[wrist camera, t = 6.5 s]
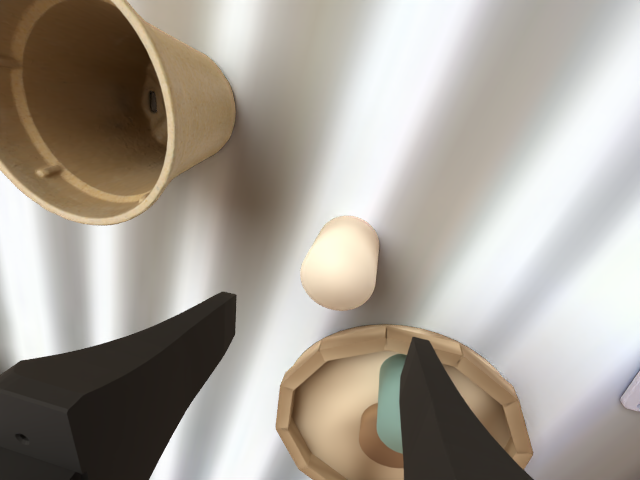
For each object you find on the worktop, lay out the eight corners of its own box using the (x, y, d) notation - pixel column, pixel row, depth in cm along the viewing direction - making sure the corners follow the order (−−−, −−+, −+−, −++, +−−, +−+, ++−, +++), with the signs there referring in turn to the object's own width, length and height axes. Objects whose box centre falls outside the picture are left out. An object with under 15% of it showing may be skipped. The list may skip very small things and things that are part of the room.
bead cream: (385, 222, 21) (383, 252, 16) (372, 278, 22) (367, 317, 18) (322, 210, 21) (304, 236, 17) (314, 265, 23) (296, 301, 19)
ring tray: (562, 361, 22) (579, 388, 20) (474, 518, 29) (479, 549, 27) (295, 299, 24) (286, 317, 22) (276, 458, 31) (268, 482, 29)
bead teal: (444, 361, 23) (455, 418, 19) (429, 402, 24) (436, 463, 20) (385, 347, 23) (383, 399, 19) (374, 388, 25) (370, 445, 21)
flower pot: (92, 49, 20) (-99, 17, 12) (225, -18, 17) (86, -114, 10) (161, 196, 23) (42, 245, 15) (284, 159, 20) (215, 195, 12)
